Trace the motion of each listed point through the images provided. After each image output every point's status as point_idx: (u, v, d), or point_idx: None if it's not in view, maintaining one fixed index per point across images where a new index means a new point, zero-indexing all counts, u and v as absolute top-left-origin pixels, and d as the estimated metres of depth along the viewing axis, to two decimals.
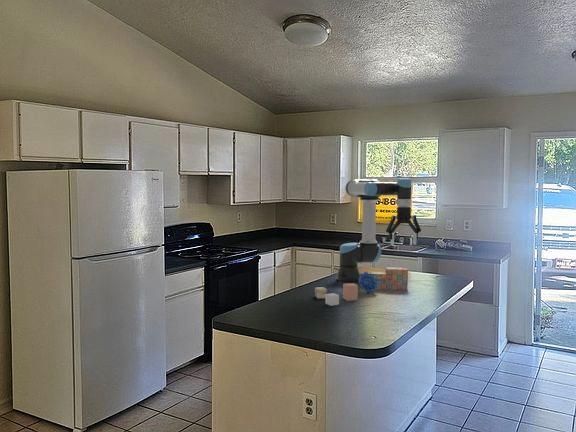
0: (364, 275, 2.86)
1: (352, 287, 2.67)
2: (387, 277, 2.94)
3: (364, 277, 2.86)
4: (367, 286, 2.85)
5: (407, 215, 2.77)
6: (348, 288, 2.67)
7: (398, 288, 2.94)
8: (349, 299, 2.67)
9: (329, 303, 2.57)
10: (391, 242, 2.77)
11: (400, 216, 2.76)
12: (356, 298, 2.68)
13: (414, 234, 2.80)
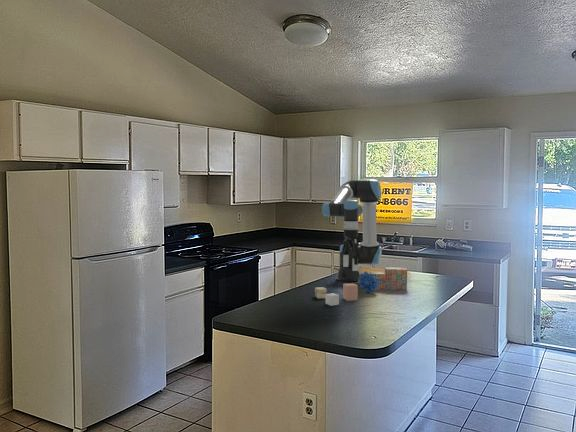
0: (364, 275, 2.86)
1: (352, 287, 2.67)
2: (386, 277, 2.94)
3: (364, 277, 2.86)
4: (367, 286, 2.85)
5: (349, 238, 2.66)
6: (348, 288, 2.67)
7: (397, 288, 2.94)
8: (349, 299, 2.67)
9: (329, 303, 2.57)
10: None
11: (347, 238, 2.70)
12: (356, 298, 2.68)
13: None
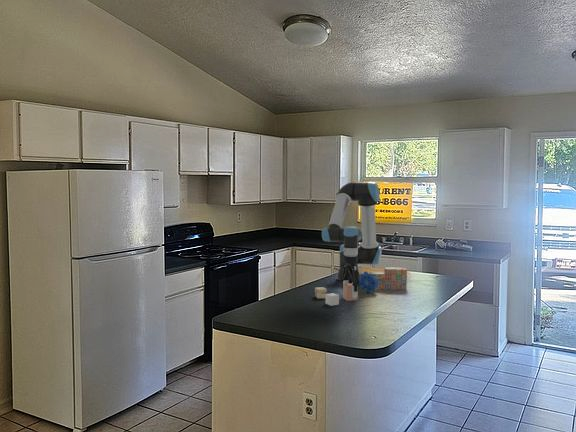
0: (364, 275, 2.86)
1: None
2: (386, 277, 2.94)
3: (364, 277, 2.86)
4: (367, 286, 2.85)
5: (349, 265, 2.67)
6: (348, 288, 2.67)
7: (397, 288, 2.94)
8: (349, 299, 2.67)
9: (329, 303, 2.57)
10: None
11: (346, 264, 2.71)
12: (356, 298, 2.68)
13: None
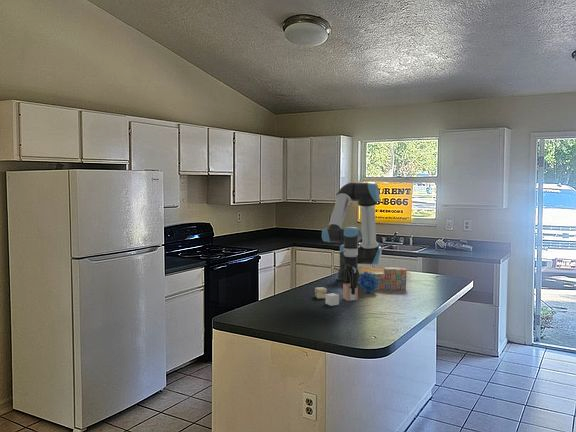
0: (364, 275, 2.86)
1: None
2: (385, 277, 2.94)
3: (364, 277, 2.86)
4: (367, 286, 2.85)
5: (349, 264, 2.67)
6: (348, 288, 2.67)
7: (397, 288, 2.94)
8: (349, 299, 2.67)
9: (329, 303, 2.57)
10: None
11: (346, 264, 2.72)
12: (356, 298, 2.68)
13: None
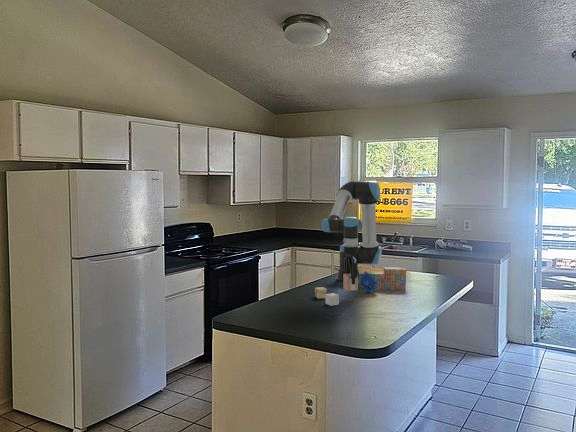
0: (364, 275, 2.86)
1: None
2: (385, 277, 2.94)
3: (364, 277, 2.86)
4: (367, 286, 2.85)
5: (350, 254, 2.67)
6: (348, 278, 2.66)
7: (396, 288, 2.94)
8: (349, 289, 2.67)
9: (329, 303, 2.57)
10: None
11: (346, 254, 2.71)
12: (356, 288, 2.68)
13: None
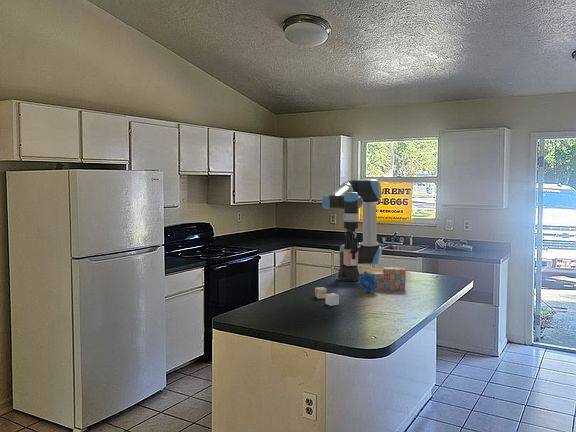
0: (364, 275, 2.86)
1: None
2: (385, 277, 2.94)
3: (364, 277, 2.86)
4: (367, 286, 2.85)
5: (350, 229, 2.66)
6: (348, 253, 2.65)
7: (396, 288, 2.94)
8: None
9: (329, 303, 2.57)
10: None
11: (347, 230, 2.70)
12: (357, 263, 2.67)
13: None
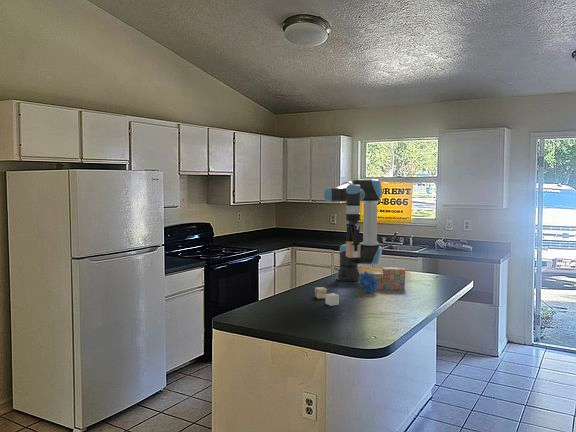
0: (364, 275, 2.86)
1: None
2: (384, 277, 2.95)
3: (364, 277, 2.86)
4: (367, 286, 2.85)
5: (352, 221, 2.68)
6: (351, 245, 2.68)
7: (395, 288, 2.95)
8: None
9: (329, 303, 2.57)
10: None
11: (349, 222, 2.73)
12: (359, 255, 2.69)
13: None
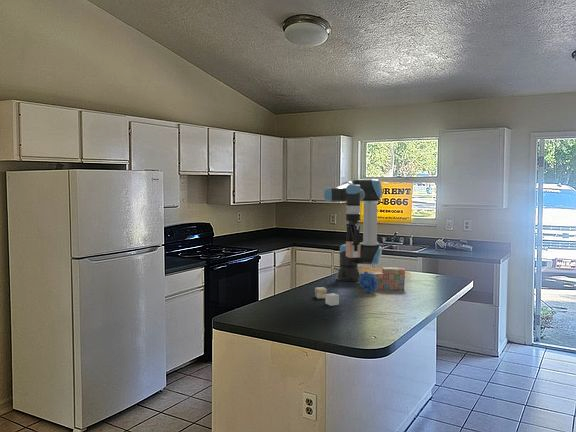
0: (364, 275, 2.86)
1: None
2: (384, 277, 2.95)
3: (364, 277, 2.86)
4: (367, 286, 2.85)
5: (352, 221, 2.68)
6: (351, 245, 2.68)
7: (395, 288, 2.95)
8: None
9: (329, 303, 2.57)
10: None
11: (349, 222, 2.73)
12: (359, 255, 2.69)
13: None
